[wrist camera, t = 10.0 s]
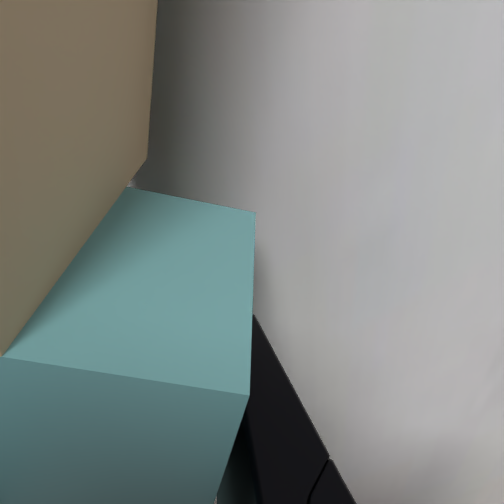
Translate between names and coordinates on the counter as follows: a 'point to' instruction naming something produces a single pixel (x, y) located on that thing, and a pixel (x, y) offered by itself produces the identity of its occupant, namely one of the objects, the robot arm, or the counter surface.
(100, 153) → the carton flap
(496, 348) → the counter surface
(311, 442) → the robot arm
